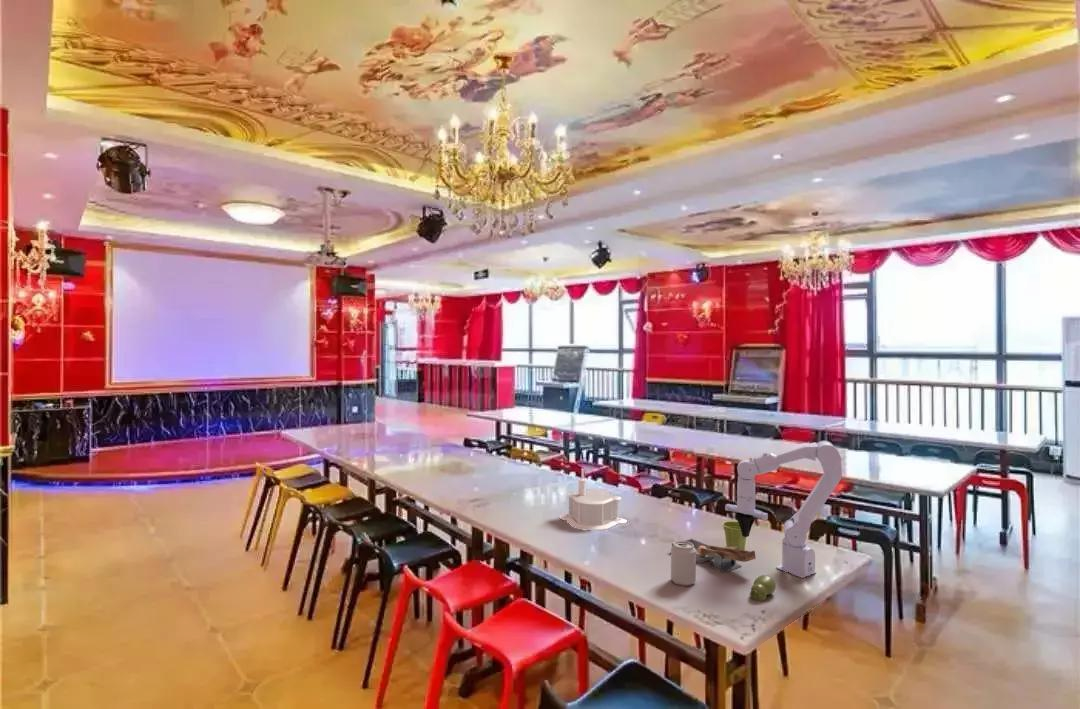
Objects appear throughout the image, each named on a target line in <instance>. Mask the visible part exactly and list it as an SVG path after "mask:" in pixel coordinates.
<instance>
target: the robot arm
mask: <svg viewBox="0 0 1080 709" xmlns="http://www.w3.org/2000/svg"><path fill="white" fill-rule="evenodd" d="M838 450H839V449H838V448H836V447H835V446H834V444H833V443H832V442H830V441H827V440H820V441H818V442H810V443H807V444H804V445H801V446H798V447H795V448H793V449H790V450H787V451H784V452H782V453H781V452H780V453H778V454H774V453H772V452H767V451H765V452H763V453H762V455H759V456H756V457H752V456H751V457H749V458H748V459H742V460H740V461H739V462H738V464H737V466H736V469H737V475H738V476H737V483H736V484H737V485H736V486H737V487H736V488H737V490H736V495H737V496H736V504H730V503H727V504H725V506H724V509H725V511H726V512H727V511H728V512H733V513H736V515H735V519H736V522H738V523H739V525H740V528H741V532H742V536H743V537H746V538H748V537H749V536H750V533H751V530H752V526H753V525H754V523H755V520H756V519H761V520H762V521H767V520H768V519H769V515H768V513H767V512H763V511H762V510H759V509H756V483H755V477H756V476H757V475H758V476H759V475H763V474H767V473H769V472H770V473H771V472H774V471H776V470H779V467H780V465H783V464H787V463H790V462H791V463H792V462H795V461H798V460H802V459H807V460H810V461H815V462H816V459H817V460H818V461H819V463H820V466H821V467H822V471H823V473H822V474H821V477H820V478H819V480H817V482H816V484H815V485H814V487H813V488H812V490H811V491H810V493H809V494H808V496H807V497H806V499H805V500H804V502H803V503H802V505H801V506H800V508H799V509H798V510H797V512H795V513H794V514H793V516H791V517H790V519H787V520H785V522H784V523H783V526H782V529H783V532H784V538H782V540H781V541H782V544H781V545H782V546H781V549H782V550H781V551H782V552H781V564H780V565H778V566H776V569H778V570H780V571H782V570H783V572H786V573H788V572H789V573H788V574H790V573H791V575H793V576H796V577H799V578H801V579H803V578H806V576H807V577H810V576H812V575H813V574H814V575H815V574H817V571H816V552H815V550H814V549H813V548H811V547H809V546H808V545H807V534H808V533H809V531H810V528H811V524H812V523H813V521H814V520H815V519H816V516H817V515H818V514H819V512H820V510H822V507H823V506H824V505H825V503H826V502H827V500H828V498H829V497H830V496H831V494H832V493H833V491H834V490H835V488H836V487H837V485H839V483H840V481H841V480H842V478H843V470H842V460H843V459H842V457H841V454H840V453H839V451H838ZM811 574H812V575H811Z"/></svg>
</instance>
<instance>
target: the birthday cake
mask: <svg viewBox="0 0 1080 709" xmlns="http://www.w3.org/2000/svg"><path fill="white" fill-rule="evenodd" d="M584 470H585V469H584V468H581V478H579V479H578V491H574V492H573V491H572V492H568V493H567V494H565V497H568V513H567V514H562V515H560V518H561V519H563V520H567V521H568V522H569V523H570V524H571V525H572V526H573V527H576V528H579V529H586V530H603V529H608V528H610V527H612V526H614V525H616V524H618V523H626V522H627V519H625V518H622V517H619V500H622V497H621V496H619V495H616V494H612V493H611V492H610V491H608V490H605V489H598V488H587V489H586V479H585V478H584V477H585V476H584V475H585V473H584ZM573 527H572V528H573ZM579 529H578V530H579Z"/></svg>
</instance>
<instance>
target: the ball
mask: <svg viewBox="0 0 1080 709" xmlns="http://www.w3.org/2000/svg"><path fill="white" fill-rule="evenodd" d="M701 548H704V549H707V548H706V547H705V546H699V547H698V549H697V552H698V553H699V554H700V556H706V555H702V554H701Z"/></svg>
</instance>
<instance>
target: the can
mask: <svg viewBox="0 0 1080 709" xmlns="http://www.w3.org/2000/svg"><path fill="white" fill-rule="evenodd" d="M670 549H671V550H670V579H671V580H672V581H673V583H674V584H675V583H676V585H677V584H678V586H681V587H690V586H692V585H693V584H694V583H696V581H697V578H696V576H697V575H696V573H697V572H696V571H697V562H696V549H695V548H694V545H693V544H692V543H690V542H686V541H683V540H679V541H678V540H677V541H674V542H673V546H672V545H671V548H670Z"/></svg>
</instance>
